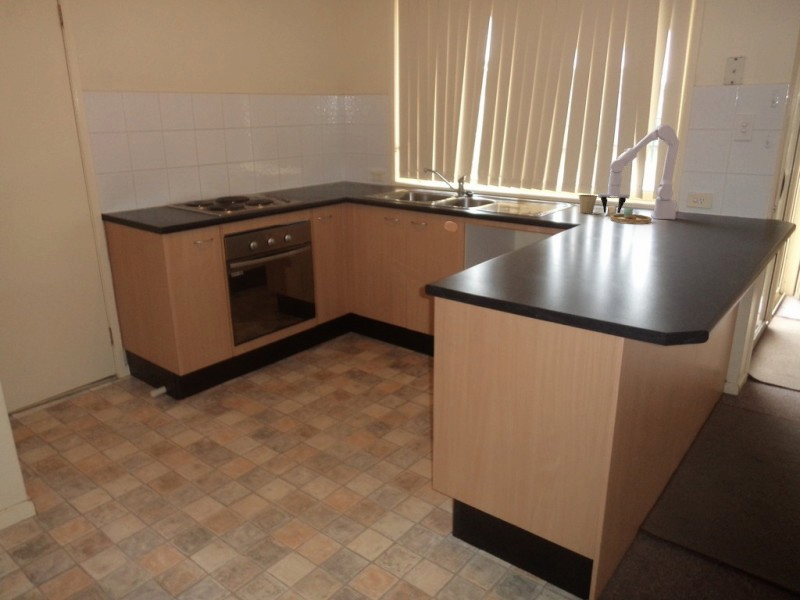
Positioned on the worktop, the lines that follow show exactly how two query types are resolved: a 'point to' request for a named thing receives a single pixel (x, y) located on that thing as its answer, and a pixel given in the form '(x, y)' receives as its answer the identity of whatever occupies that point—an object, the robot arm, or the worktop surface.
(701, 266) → the worktop surface
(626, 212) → the bead teal
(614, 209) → the bead cream
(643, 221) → the ring tray
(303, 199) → the worktop surface
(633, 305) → the worktop surface
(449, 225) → the pink rounded lump
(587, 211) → the flower pot
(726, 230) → the worktop surface
